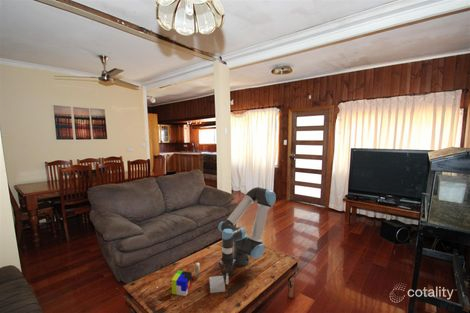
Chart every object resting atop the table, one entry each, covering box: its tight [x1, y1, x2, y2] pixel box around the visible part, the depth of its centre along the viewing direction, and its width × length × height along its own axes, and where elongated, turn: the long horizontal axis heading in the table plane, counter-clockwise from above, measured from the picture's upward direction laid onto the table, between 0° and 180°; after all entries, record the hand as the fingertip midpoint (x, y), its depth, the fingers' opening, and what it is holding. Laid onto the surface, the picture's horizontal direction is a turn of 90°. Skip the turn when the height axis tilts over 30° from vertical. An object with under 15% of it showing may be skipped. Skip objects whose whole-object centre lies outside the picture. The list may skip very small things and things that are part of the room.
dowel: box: [194, 262, 201, 279], centre depth 158 cm, size 4×4×10 cm
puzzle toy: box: [171, 270, 193, 297], centre depth 145 cm, size 10×10×10 cm
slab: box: [208, 275, 226, 294], centre depth 149 cm, size 10×12×4 cm
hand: (227, 283), depth 150 cm, fingers closed
